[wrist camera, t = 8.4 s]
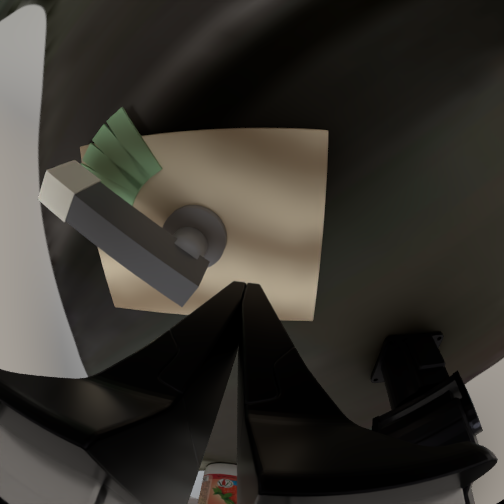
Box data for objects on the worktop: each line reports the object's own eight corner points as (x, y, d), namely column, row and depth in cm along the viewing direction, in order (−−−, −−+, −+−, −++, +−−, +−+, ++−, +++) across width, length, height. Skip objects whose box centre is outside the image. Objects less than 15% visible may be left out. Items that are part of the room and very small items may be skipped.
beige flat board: (311, 311, 23) (313, 327, 21) (114, 298, 25) (104, 311, 23) (325, 96, 16) (330, 94, 14) (80, 118, 17) (64, 120, 16)
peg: (218, 244, 18) (201, 283, 14) (199, 270, 19) (179, 311, 15) (91, 152, 16) (47, 167, 12) (79, 181, 17) (37, 201, 13)
